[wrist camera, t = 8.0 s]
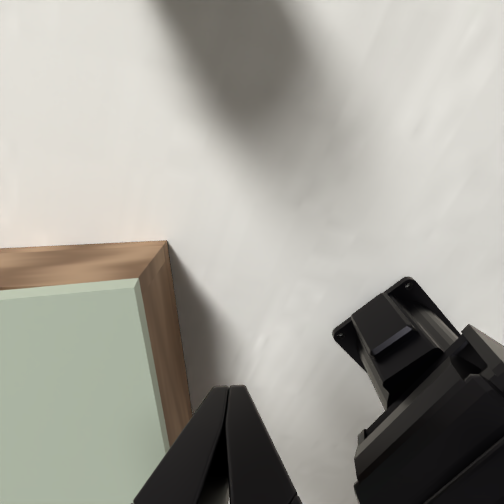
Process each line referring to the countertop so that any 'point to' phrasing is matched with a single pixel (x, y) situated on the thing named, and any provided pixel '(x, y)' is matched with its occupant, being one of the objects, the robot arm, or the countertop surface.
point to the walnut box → (117, 268)
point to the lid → (77, 395)
